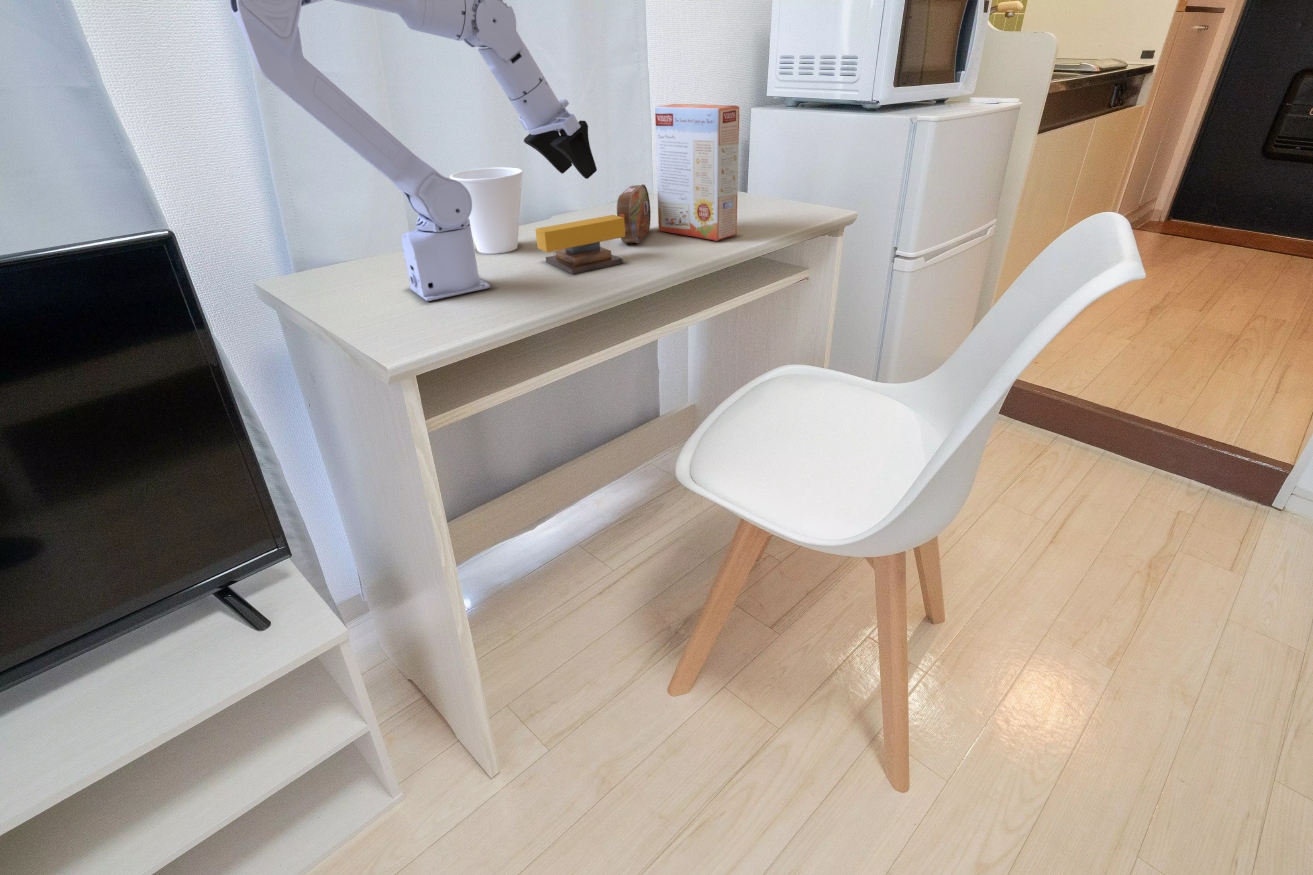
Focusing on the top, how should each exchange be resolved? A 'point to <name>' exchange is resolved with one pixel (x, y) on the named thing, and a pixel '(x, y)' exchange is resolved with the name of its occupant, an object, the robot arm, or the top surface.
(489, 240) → the cup
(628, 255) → the top surface
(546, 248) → the bar
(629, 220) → the tin
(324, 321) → the top surface
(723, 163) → the cracker box
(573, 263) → the brown stepped stand
